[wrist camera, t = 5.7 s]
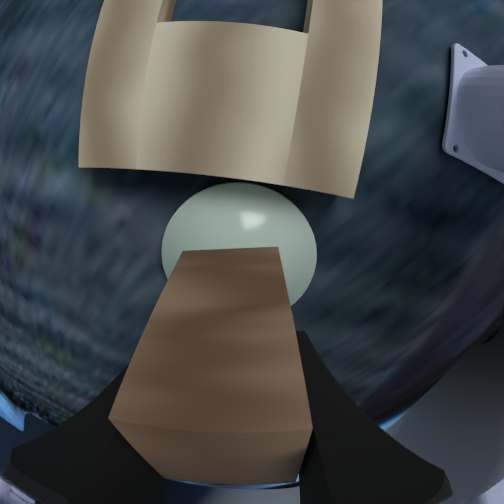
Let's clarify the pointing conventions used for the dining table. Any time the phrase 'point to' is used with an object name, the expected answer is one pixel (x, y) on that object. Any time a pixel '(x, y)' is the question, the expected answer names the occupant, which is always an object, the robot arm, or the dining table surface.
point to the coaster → (244, 229)
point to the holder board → (233, 94)
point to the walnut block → (219, 374)
